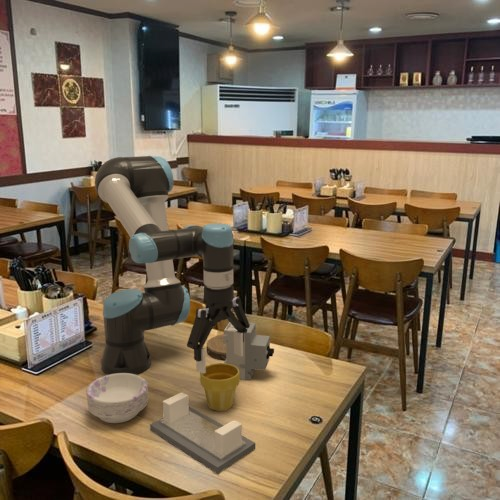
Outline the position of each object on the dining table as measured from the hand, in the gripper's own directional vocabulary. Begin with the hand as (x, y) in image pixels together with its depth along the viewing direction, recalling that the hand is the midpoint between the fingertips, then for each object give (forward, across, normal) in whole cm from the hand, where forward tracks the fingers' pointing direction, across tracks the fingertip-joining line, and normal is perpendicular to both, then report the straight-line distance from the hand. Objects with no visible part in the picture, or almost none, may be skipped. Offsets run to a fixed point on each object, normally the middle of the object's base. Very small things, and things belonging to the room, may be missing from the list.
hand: (220, 363), depth 134 cm
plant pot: (+12, 0, +1) cm, 12 cm away
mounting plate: (+12, -14, -7) cm, 20 cm away
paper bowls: (+12, -21, +17) cm, 29 cm away
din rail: (+11, -14, -7) cm, 19 cm away
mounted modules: (+10, -14, -7) cm, 19 cm away
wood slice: (+12, +26, +23) cm, 37 cm away
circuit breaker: (+12, +18, +7) cm, 23 cm away
